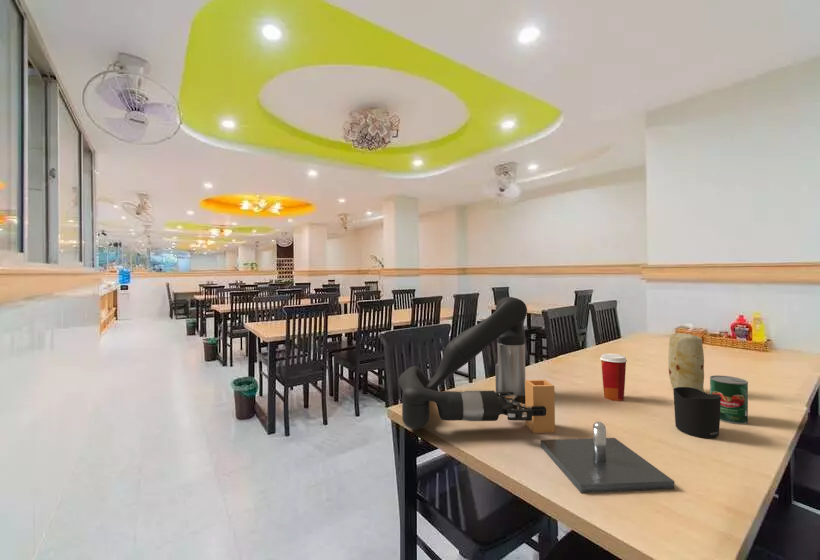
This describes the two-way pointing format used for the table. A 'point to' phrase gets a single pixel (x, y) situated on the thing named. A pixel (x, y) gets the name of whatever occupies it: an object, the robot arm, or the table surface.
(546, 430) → the tan rectangular holder
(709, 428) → the pen holder
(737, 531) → the table surface
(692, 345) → the food model
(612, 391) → the paper cup
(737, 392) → the canned tomato
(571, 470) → the shaft stand
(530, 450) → the table surface
